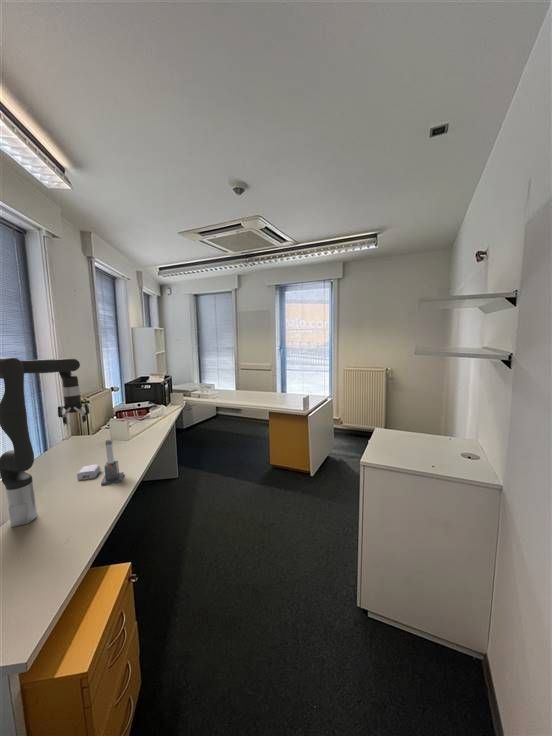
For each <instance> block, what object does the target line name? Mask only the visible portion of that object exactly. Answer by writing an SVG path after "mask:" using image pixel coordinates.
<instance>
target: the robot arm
mask: <svg viewBox="0 0 552 736" xmlns="http://www.w3.org/2000/svg"><path fill="white" fill-rule="evenodd" d="M80 366H81V363H80V361H79V360H78V359H76V358H41V359H28V360H20V359H19V358H16V357H0V379H1V380H3V383H4V393H3V396H2V398H1V399H0V428H1V429H2V431H3V432H4V434H6V435H7V437H8V438H9V440H10V441H11V444H12V446H13V450H8V451H5V452H4V453H3V454H2V455H1V456H0V479H1V483H2V484H3V485H4V487H5V491H6V499H7V507H8V513H9V521H10V526H11V528H15V527H19V526H24V525H27V524H29V523H31V522H32V521H34V520H35V519H37V517H38V510H37V503H36V496H35V489H34V481H33V477H32V475H31V474H30V473H28V472H27V471H28V470H30V469H31V468H32V466H33V465H34V462H35V453H34V449H33V446H32V442H31V438H30V432H29V425H28V424H29V423H28V416H27V415H28V413H27V407H26V399H25V398H26V397H25V386H24V385H25V383H24V382H25V375H26V374H51V373H52V374H53V373H58V374H59V376H60V378H61V380H62V394H63V401H64V405H58V406H57V417H58V418H62V423H63V424H64V425H68V417H67V416H68V414H72V413H78V414H80V415H81V419H82V420H81V421H82V423H86V421H87V415H89V414H90V413H91V412H90V407H89V403H87V402H86V403H82V398H81V391H80V385H79V379H78V376H77V375H74V374H73V372H76V371H77V370H79V369H80V368H81V367H80ZM82 407H83V408H84V410H85V411H84V410H83V408H82ZM64 409H65V412H64V413H63V410H64Z"/></svg>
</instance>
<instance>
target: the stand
mask: <svg viewBox="0 0 552 736" xmlns="http://www.w3.org/2000/svg"><path fill="white" fill-rule="evenodd" d="M104 474H105V475H104V476H103V479H102V481H101V482H100V484H101V485H100V486H102V485H103V486H106V485H107V484H108V485H112V483H114V484H118V482H119V483H122V480H123V479H124V476H125V473H124V471H122V472H120V467H119V461H118V460H115V464H113V465H108V461H107V462H106V463H105V464H104Z"/></svg>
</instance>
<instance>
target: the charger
mask: <svg viewBox="0 0 552 736" xmlns="http://www.w3.org/2000/svg"><path fill="white" fill-rule="evenodd" d="M100 472H101V467H100V464H98V463H96V464H91V465H86V466H85V465H84V466H82V468H81V469H80V470H79V471H78V472H77V474H76V477H77V478H76V479H77V480H78V481H81V480H82V479H83V480H89V479H88V478H91V479H96V477H97V475H98V474H99V473H100ZM83 480H82V481H83Z"/></svg>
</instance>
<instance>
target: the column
mask: <svg viewBox="0 0 552 736" xmlns="http://www.w3.org/2000/svg"><path fill="white" fill-rule="evenodd" d="M113 441H114V440H113V439H106V440H105V449H106V459H107V460H106V461H107V462H108V465H113V464H115V461H116V459H115V452H114V443H113Z"/></svg>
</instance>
